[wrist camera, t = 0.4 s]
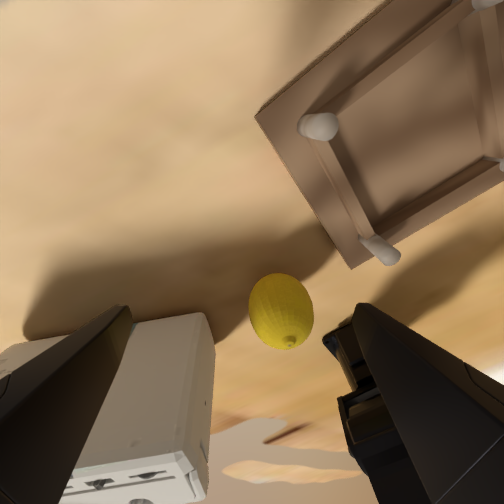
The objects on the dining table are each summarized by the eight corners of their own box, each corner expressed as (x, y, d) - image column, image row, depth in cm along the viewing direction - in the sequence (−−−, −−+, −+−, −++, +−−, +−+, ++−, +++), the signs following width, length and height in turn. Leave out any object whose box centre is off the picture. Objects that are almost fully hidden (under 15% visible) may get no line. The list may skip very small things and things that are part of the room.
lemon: (235, 286, 24) (236, 352, 17) (270, 247, 22) (288, 304, 15) (275, 309, 26) (290, 378, 19) (310, 276, 24) (342, 338, 17)
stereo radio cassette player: (205, 300, 25) (141, 718, 7) (222, 351, 29) (207, 701, 11) (13, 333, 25) (-483, 811, 8) (56, 379, 29) (-206, 762, 12)
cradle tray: (515, 164, 20) (594, 175, 16) (346, 264, 24) (372, 296, 20) (483, -77, 13) (606, -174, 9) (254, 117, 17) (261, 115, 13)
